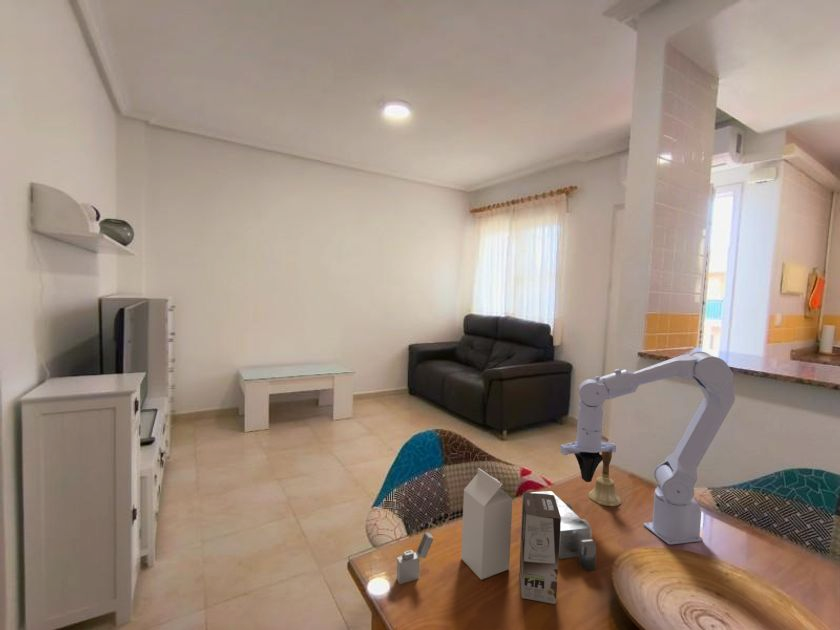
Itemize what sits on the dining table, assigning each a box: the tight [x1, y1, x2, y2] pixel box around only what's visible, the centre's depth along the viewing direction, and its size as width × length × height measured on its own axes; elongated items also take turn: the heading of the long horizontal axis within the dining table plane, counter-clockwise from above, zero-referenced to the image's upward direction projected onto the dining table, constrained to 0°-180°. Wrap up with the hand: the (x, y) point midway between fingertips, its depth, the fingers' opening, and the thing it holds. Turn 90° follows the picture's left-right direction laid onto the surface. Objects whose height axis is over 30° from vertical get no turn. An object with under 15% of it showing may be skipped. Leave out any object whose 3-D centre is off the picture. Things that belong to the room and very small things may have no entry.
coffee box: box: [519, 491, 561, 605], centre depth 77 cm, size 9×6×16 cm
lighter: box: [396, 531, 434, 585], centre depth 78 cm, size 7×2×8 cm, turn 115°
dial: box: [578, 538, 597, 572], centre depth 82 cm, size 3×3×6 cm
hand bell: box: [587, 451, 622, 507], centre depth 110 cm, size 8×8×16 cm
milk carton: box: [460, 467, 513, 580], centre depth 82 cm, size 7×7×19 cm
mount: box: [531, 490, 591, 560], centre depth 93 cm, size 7×16×6 cm, turn 12°
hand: (586, 480), depth 101 cm, fingers closed
